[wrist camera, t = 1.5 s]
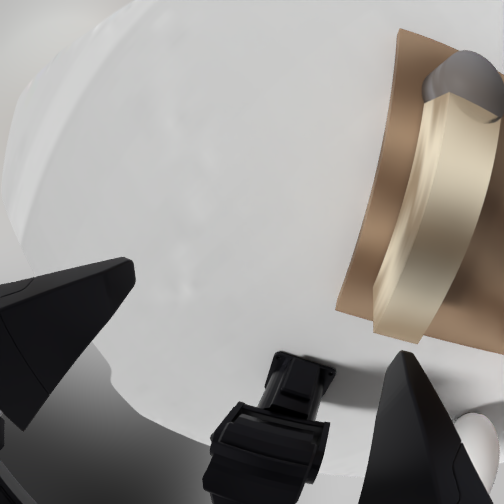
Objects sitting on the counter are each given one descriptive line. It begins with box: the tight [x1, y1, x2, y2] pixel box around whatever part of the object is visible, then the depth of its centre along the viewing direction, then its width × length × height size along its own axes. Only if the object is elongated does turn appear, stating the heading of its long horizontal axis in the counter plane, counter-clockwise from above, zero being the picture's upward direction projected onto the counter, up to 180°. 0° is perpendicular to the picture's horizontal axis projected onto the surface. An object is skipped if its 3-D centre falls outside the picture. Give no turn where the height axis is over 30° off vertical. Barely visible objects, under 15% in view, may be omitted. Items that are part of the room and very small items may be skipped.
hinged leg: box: [373, 50, 504, 344], centre depth 12 cm, size 16×4×5 cm, turn 172°
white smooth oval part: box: [454, 413, 500, 494], centre depth 13 cm, size 8×8×18 cm
